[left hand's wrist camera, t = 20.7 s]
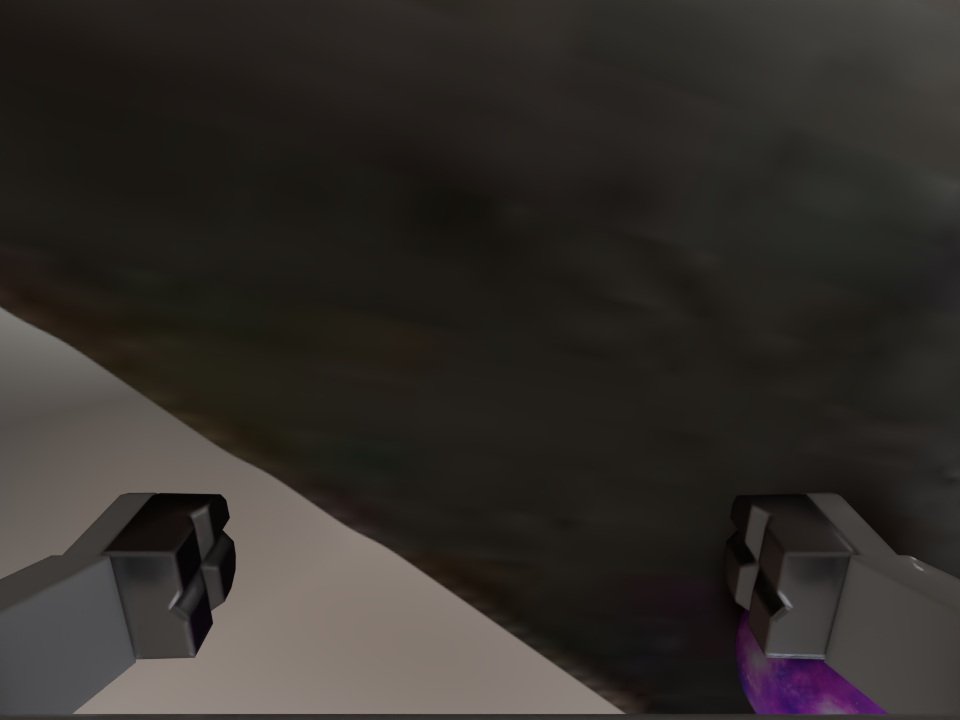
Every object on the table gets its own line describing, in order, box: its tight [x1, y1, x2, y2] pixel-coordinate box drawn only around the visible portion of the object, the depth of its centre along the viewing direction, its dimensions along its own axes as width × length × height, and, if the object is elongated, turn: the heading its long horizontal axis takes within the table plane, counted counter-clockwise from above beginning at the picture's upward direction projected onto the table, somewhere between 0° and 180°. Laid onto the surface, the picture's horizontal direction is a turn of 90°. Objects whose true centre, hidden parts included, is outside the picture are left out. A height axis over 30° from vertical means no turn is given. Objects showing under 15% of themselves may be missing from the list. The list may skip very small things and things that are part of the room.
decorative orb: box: [735, 609, 888, 714], centre depth 53 cm, size 15×15×15 cm
